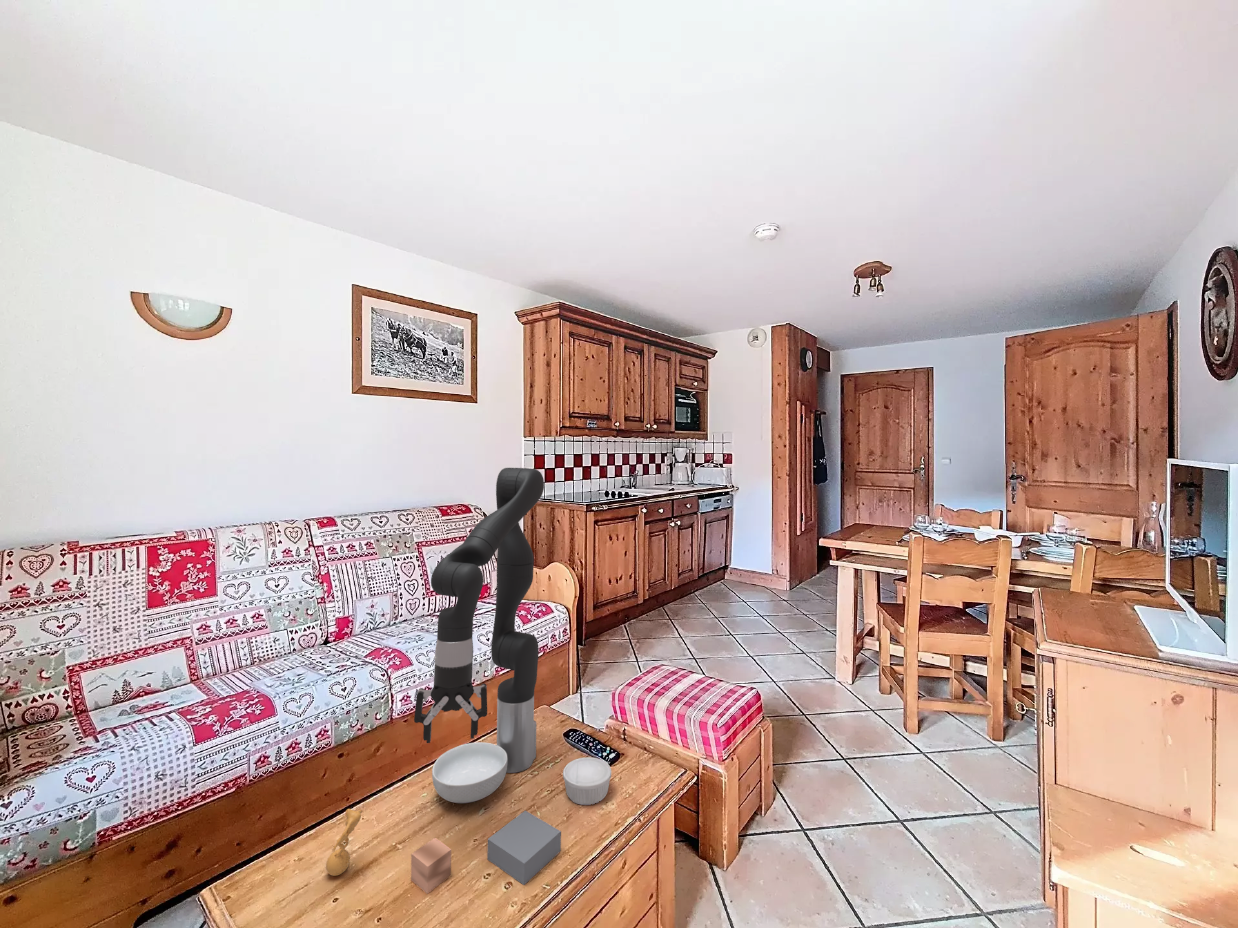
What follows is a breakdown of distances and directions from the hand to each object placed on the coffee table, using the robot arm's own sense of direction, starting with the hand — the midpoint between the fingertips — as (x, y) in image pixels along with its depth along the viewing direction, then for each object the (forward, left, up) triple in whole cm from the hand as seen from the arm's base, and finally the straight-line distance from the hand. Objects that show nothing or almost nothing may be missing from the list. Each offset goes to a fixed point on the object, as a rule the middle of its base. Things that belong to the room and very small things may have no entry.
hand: (450, 739), depth 105 cm
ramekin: (-27, +14, -20) cm, 37 cm away
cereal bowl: (-11, -8, -20) cm, 24 cm away
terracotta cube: (+9, +6, -20) cm, 23 cm away
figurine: (+18, -8, -20) cm, 28 cm away
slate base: (-5, +16, -20) cm, 26 cm away
